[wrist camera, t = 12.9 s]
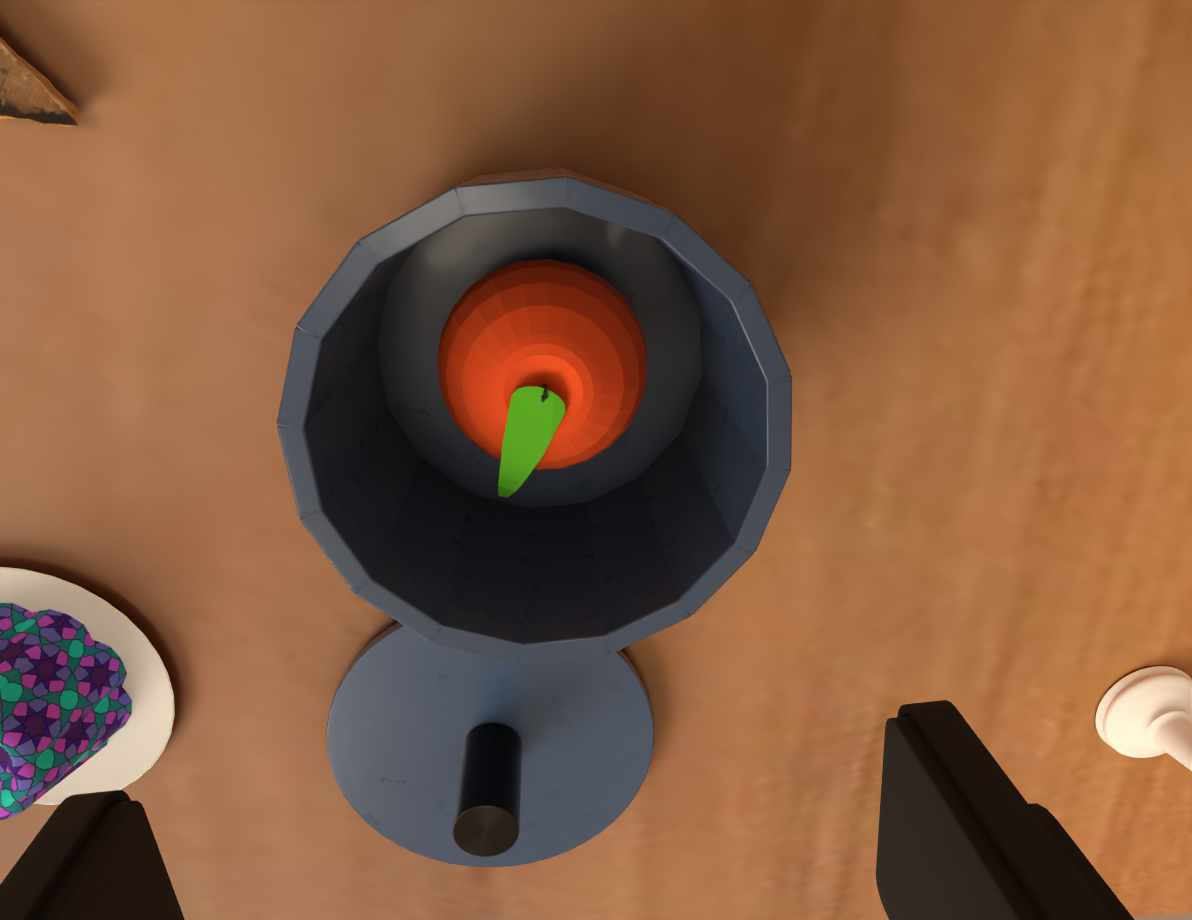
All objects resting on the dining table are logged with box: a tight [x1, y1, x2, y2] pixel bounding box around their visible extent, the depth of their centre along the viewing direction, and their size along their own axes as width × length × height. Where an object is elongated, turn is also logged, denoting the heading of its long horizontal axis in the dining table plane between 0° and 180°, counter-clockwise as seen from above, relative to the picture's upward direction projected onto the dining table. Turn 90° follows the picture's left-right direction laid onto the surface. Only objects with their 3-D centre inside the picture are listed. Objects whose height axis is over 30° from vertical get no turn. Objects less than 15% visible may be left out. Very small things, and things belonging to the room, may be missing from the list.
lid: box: [327, 622, 654, 867], centre depth 34 cm, size 14×14×6 cm
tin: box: [277, 167, 792, 664], centre depth 26 cm, size 13×13×10 cm
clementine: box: [437, 259, 647, 498], centre depth 27 cm, size 8×7×7 cm
